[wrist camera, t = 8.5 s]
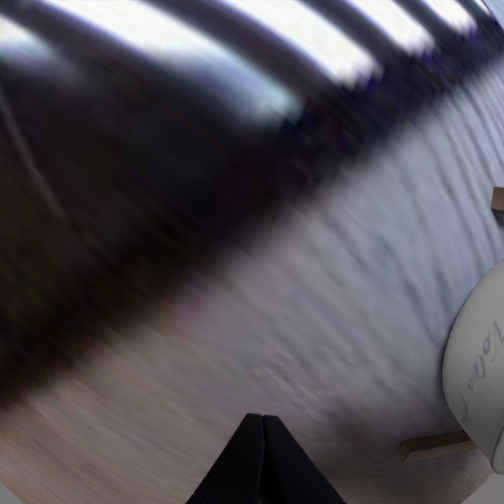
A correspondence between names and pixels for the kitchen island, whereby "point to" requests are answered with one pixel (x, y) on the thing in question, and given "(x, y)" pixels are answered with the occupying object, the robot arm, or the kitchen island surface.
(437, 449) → the frame
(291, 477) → the robot arm
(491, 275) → the teacup
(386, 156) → the kitchen island surface
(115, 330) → the kitchen island surface
